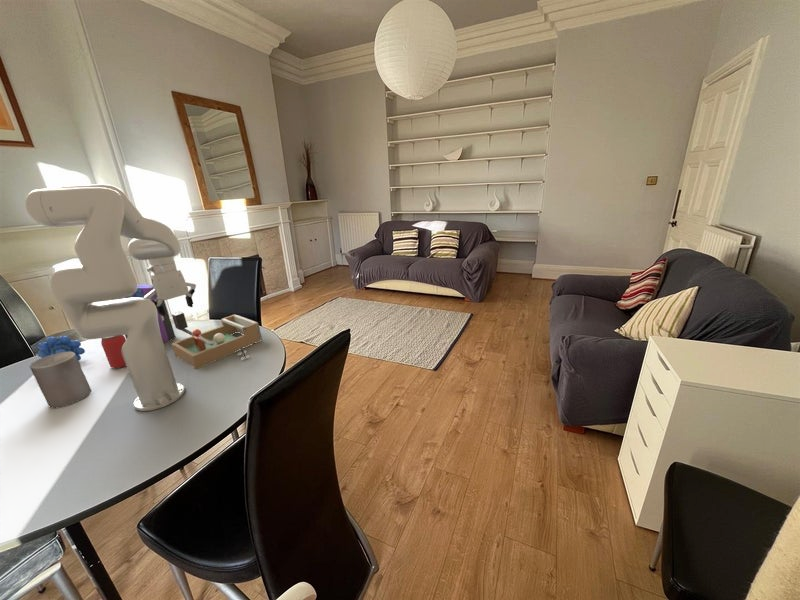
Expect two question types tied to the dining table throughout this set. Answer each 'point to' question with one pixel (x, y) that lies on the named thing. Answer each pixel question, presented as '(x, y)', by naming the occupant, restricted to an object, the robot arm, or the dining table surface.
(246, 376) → the dining table surface
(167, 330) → the cereal box
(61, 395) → the pillar candle
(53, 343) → the grapes
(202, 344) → the striker
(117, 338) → the beer can
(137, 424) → the dining table surface
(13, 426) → the dining table surface
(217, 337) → the ball
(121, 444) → the dining table surface
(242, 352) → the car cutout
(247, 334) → the pitch
